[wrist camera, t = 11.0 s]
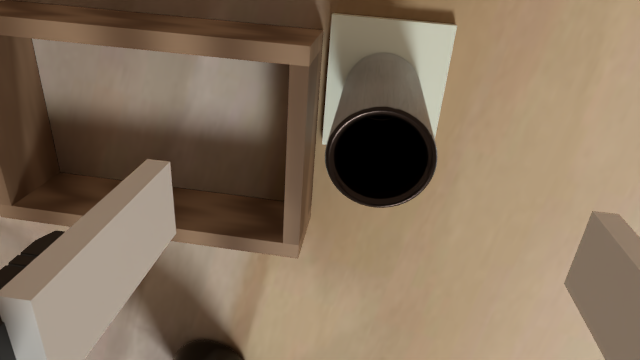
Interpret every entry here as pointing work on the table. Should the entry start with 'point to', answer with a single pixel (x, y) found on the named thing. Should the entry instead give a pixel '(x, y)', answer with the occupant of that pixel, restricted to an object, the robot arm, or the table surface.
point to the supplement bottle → (206, 351)
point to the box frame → (85, 191)
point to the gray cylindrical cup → (381, 134)
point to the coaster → (389, 37)
